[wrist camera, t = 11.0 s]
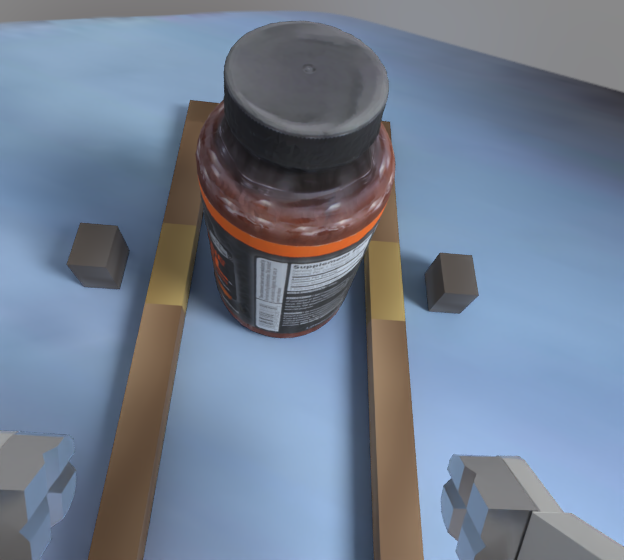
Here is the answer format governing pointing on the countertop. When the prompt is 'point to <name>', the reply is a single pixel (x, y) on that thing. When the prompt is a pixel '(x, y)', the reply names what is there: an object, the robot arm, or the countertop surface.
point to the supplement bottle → (294, 173)
